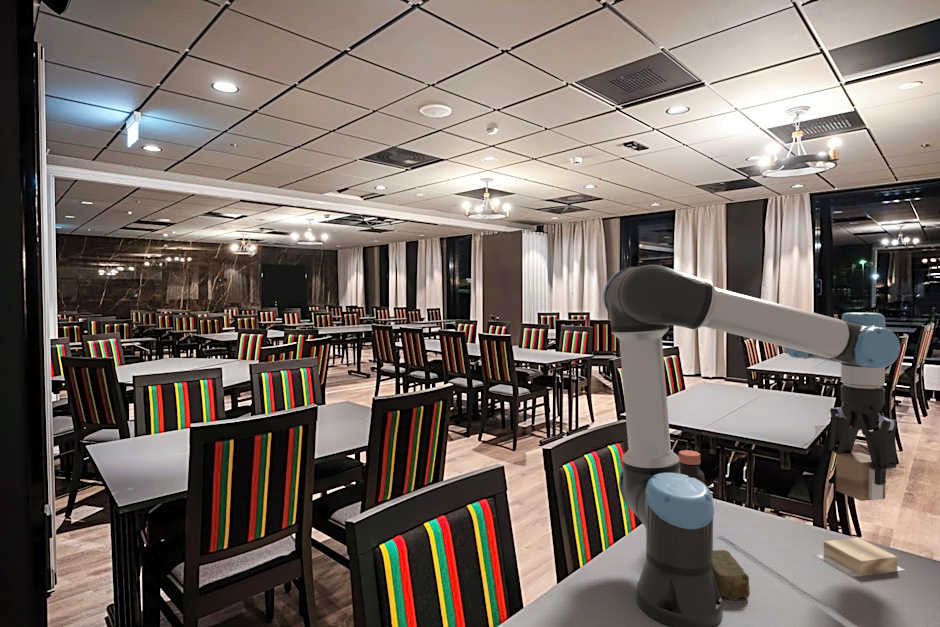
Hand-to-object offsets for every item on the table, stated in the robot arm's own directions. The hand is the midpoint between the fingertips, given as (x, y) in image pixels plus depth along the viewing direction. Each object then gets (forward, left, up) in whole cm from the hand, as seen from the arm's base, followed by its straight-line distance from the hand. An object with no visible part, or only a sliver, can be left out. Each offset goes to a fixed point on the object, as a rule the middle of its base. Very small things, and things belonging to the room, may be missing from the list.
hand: (860, 492), depth 114 cm
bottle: (-26, +22, -16) cm, 38 cm away
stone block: (-33, 0, -17) cm, 37 cm away
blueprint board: (0, 0, -16) cm, 16 cm away
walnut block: (0, 0, 0) cm, 0 cm away
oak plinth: (0, 0, -15) cm, 15 cm away
